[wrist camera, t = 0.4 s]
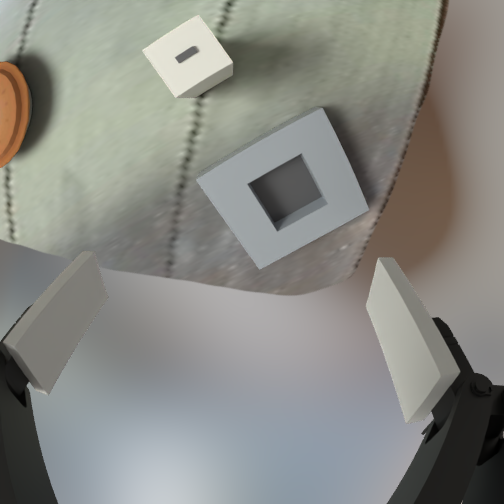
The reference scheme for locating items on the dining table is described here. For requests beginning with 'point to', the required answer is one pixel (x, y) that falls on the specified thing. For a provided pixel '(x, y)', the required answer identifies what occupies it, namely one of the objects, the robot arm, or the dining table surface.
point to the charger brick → (190, 59)
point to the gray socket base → (285, 187)
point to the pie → (13, 110)
